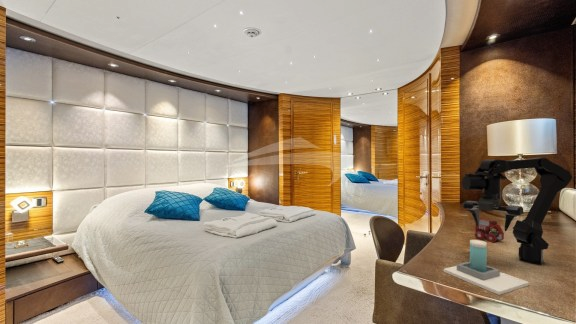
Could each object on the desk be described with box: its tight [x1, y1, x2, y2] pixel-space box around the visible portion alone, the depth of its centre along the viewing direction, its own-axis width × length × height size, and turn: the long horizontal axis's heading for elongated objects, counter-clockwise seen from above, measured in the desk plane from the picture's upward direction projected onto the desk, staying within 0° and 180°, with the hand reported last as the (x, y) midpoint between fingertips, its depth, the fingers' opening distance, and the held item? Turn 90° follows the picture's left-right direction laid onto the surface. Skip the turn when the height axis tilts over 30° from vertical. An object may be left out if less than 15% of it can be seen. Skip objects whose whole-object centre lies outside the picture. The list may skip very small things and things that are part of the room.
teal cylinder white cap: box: [469, 239, 488, 273], centre depth 92 cm, size 5×5×11 cm
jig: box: [443, 260, 530, 296], centre depth 90 cm, size 16×18×3 cm
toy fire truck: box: [474, 217, 505, 243], centre depth 133 cm, size 7×12×10 cm, turn 30°
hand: (491, 228), depth 106 cm, fingers open, 9 cm apart
